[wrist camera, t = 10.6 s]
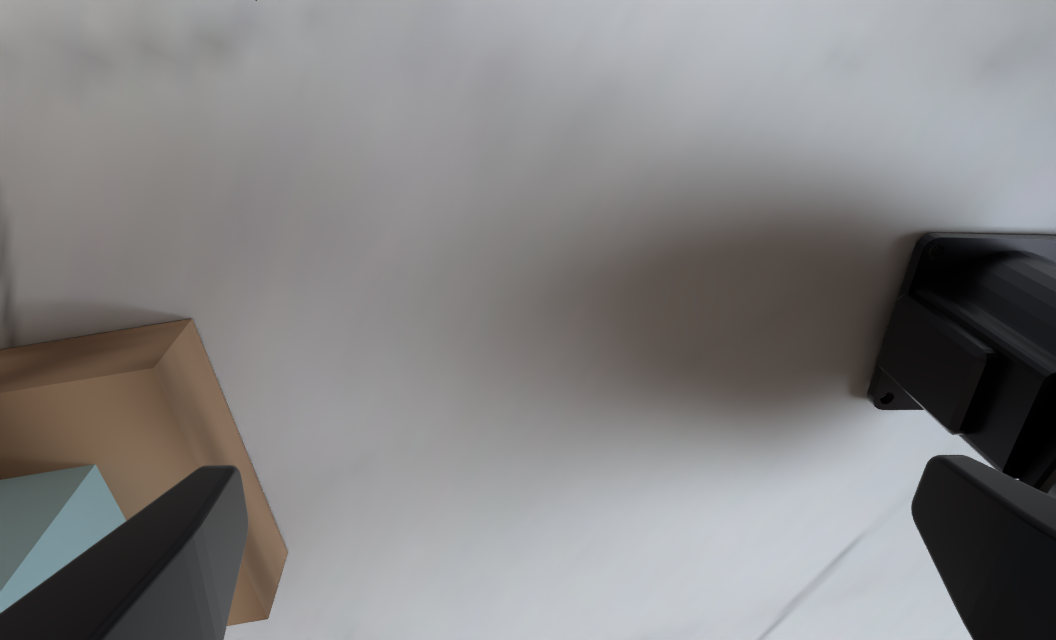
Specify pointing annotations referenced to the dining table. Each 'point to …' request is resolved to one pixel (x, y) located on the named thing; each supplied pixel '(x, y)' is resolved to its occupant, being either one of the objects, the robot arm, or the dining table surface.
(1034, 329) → the robot arm
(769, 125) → the dining table surface
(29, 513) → the slate-blue block
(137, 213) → the dining table surface
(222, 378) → the dining table surface
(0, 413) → the walnut slab
